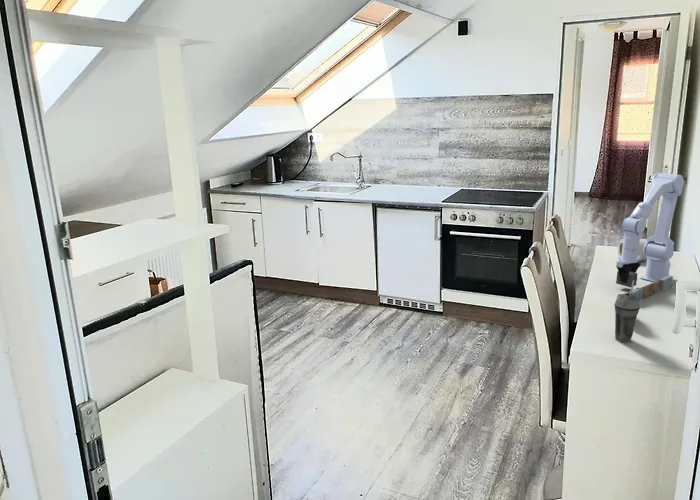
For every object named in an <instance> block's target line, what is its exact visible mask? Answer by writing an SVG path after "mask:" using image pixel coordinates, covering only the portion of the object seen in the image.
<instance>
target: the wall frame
mask: <svg viewBox="0 0 700 500" xmlns="http://www.w3.org/2000/svg"><path fill="white" fill-rule="evenodd" d="M673 279H674V275H670V274H669V275H668V276H666V277H663V278H660V279H659V280H661V288H660V291H659V292H664V291H665V290H668V289H670V288H672V285H673V281H674V280H673ZM628 293H629V294H630V290H629V291H628ZM642 294H643V289H641V287H635V288H633V290H632V295H634V296H635V297H636V298H637V299H638V301H639V302H641V301H642V300H643V298H642Z"/></svg>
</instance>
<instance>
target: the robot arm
mask: <svg viewBox="0 0 700 500" xmlns="http://www.w3.org/2000/svg"><path fill="white" fill-rule="evenodd" d="M650 183H651V184H650V185H651V186H650V187H651V188H650V189H649V191H648V193H647V195H646V197H645V199H644V200H643V202H639V203H638V204H637V206H636V207H635V208H634V210H633V212H632V213H631V214H630V216H628V217H625V218H624V219H623V221H622V223H621V231H622V233H621V234H622V236H623V238H622V239H623V247H622V255H621V256H620V257H619V256H618V261H616V264H615V267H616V268H617V272H619V276H620V281H621V282H623V283H626V282H627V280H628V275H629V273H630V272H634V273H637V271H638V270H639V269H640V266H641V265H642V263H641V256H639V255H638V251H639V242H640V239H641V235H642V233H643V232H644V230H645V228H646V225H647V221H648V219H649V217H650V216H651V214H652V213H653V211H654V207H653V206H654V205H655V204H656V202H658V200H659V199H660V198H661V196H662V201H661V204H660V209H659V212H658V217H657V221H656V226H655V230H654V234H652V236H649V237H647V238H646V240H647V241H646V244H645V245H644V248H643V252H644V254H645V255H646V258H647V260H646V264H645V265H646V267H645V274H644V276H641V277H640V279H642V280H646V281H650V282H652V283H654V282H656V281H658V280H659V279H660V278H663V277H666V276H668V275H670V268H671V261H670V260H671V259H672V257H673V255H674V252H675V247H674V246H675V242H674V241H673V240H672V239H671V238H670V235H669V234H670V231H671V227H672V222H673V218H674V213H675V209H676V205H677V201H678V197H680V196H681V195H682V193H683V189H684V184H685V179H684V177H683V175H682V174H671V173H663V172H662V173H661V172H656V173H655V174H654V175H653V176H652V179H651V182H650Z"/></svg>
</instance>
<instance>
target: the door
mask: <svg viewBox="0 0 700 500" xmlns="http://www.w3.org/2000/svg"><path fill="white" fill-rule="evenodd" d="M640 288H641V289H643V294H642V299H644V298H646V297H649V296H651V295H653V294H656V293H658V292H661V291H660V288H661V280H658V281H656V282H651V283H649V284H646V285H644V286H642V287H640Z"/></svg>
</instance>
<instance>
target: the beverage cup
mask: <svg viewBox="0 0 700 500" xmlns="http://www.w3.org/2000/svg"><path fill="white" fill-rule="evenodd" d="M634 282H635V281H634V280H633V282H632V286H631V287H630V290H629V291H630V294H629V292H625V293H621V294H622V295H620V296H619V297H618V298H617V297H616V300H615V302H614V313H615V316H614V317H615V319H614V320H615V323H614V325H615V326H614V334H615V337H614V339H615V341H617V342H619V343H624V344H627V343H628V344H629V343H631V341H632V338H633V335H634V329H635V326H636V321H637V318H638V314H639V312H640V309H641V307H640V305H641V304H640V301H638V299H637V298H636V297H635V296H634V295H632V290H634V287H635V286H634Z"/></svg>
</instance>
